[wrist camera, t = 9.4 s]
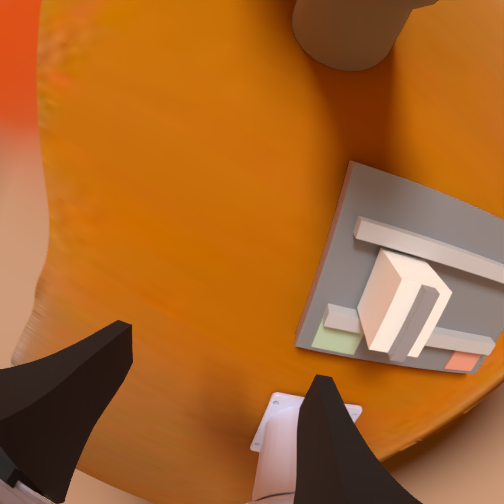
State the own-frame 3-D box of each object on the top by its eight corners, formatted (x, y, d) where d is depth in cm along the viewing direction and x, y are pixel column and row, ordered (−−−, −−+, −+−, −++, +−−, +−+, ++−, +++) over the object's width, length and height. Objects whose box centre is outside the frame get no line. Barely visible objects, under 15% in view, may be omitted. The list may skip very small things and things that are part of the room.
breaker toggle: (399, 317, 18) (420, 364, 13) (357, 307, 18) (370, 356, 13) (424, 260, 16) (457, 298, 12) (380, 247, 16) (406, 285, 12)
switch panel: (468, 363, 20) (479, 381, 18) (295, 333, 21) (294, 355, 19) (532, 234, 16) (551, 246, 13) (349, 160, 16) (358, 164, 14)
